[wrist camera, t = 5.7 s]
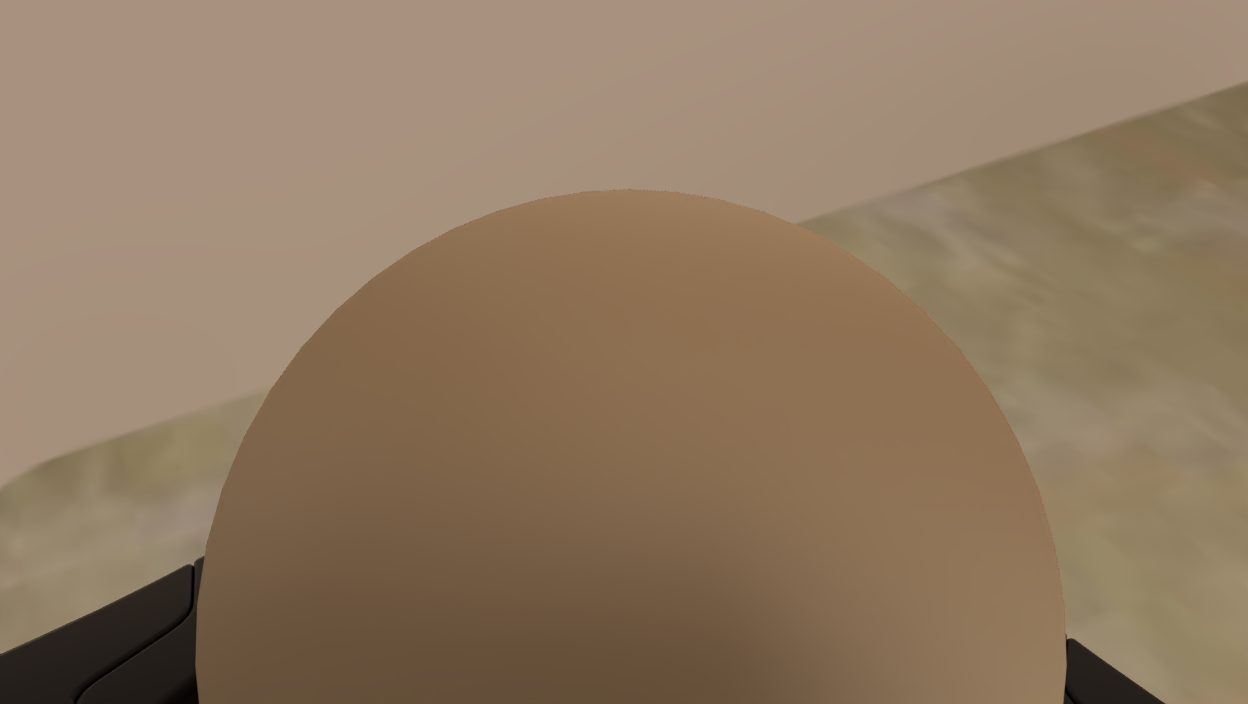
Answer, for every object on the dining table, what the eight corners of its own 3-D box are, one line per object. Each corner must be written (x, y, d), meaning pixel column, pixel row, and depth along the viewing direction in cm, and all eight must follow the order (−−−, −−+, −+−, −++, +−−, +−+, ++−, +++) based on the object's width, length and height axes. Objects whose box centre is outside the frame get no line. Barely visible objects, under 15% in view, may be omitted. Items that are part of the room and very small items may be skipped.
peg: (720, 745, 14) (1139, 1228, 3) (498, 712, 14) (18, 1030, 3) (737, 518, 15) (1034, 225, 4) (538, 491, 16) (334, 147, 5)
